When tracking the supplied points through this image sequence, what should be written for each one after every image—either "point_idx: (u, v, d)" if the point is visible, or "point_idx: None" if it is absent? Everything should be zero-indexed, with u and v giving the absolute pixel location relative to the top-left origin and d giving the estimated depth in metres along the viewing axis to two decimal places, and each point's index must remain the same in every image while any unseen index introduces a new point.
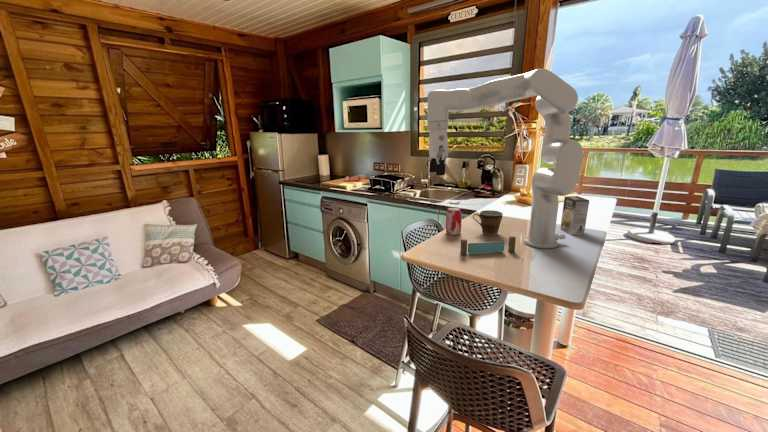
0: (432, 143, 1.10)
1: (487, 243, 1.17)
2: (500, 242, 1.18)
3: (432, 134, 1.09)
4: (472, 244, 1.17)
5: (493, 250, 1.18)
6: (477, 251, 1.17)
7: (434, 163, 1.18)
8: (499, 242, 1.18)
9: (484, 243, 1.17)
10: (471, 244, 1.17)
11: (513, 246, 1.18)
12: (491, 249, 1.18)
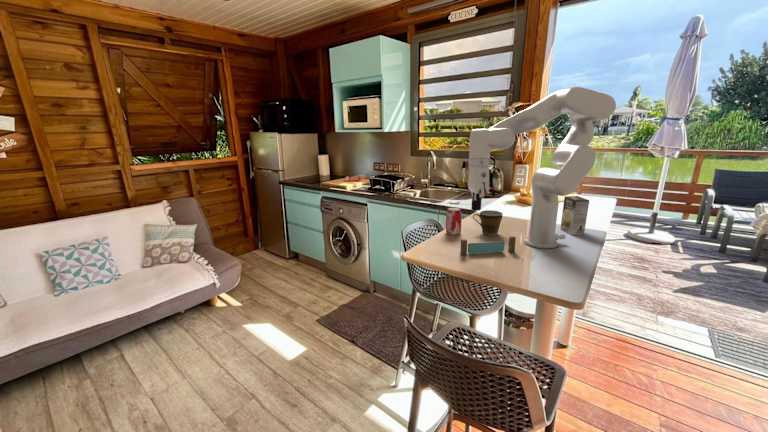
0: (474, 179, 1.14)
1: (487, 243, 1.17)
2: (500, 242, 1.18)
3: (474, 170, 1.13)
4: (472, 244, 1.17)
5: (493, 250, 1.18)
6: (477, 251, 1.17)
7: None
8: (499, 242, 1.18)
9: (484, 243, 1.17)
10: (471, 244, 1.17)
11: (513, 246, 1.18)
12: (491, 249, 1.18)
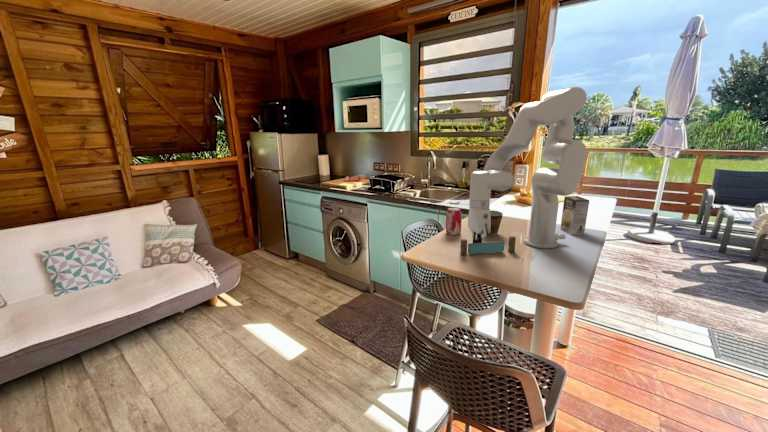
0: (475, 220, 1.16)
1: (487, 243, 1.17)
2: (500, 242, 1.18)
3: (475, 211, 1.15)
4: (472, 244, 1.17)
5: (493, 250, 1.18)
6: (477, 251, 1.17)
7: None
8: (499, 242, 1.18)
9: (484, 243, 1.17)
10: (471, 244, 1.17)
11: (513, 246, 1.18)
12: (491, 249, 1.18)
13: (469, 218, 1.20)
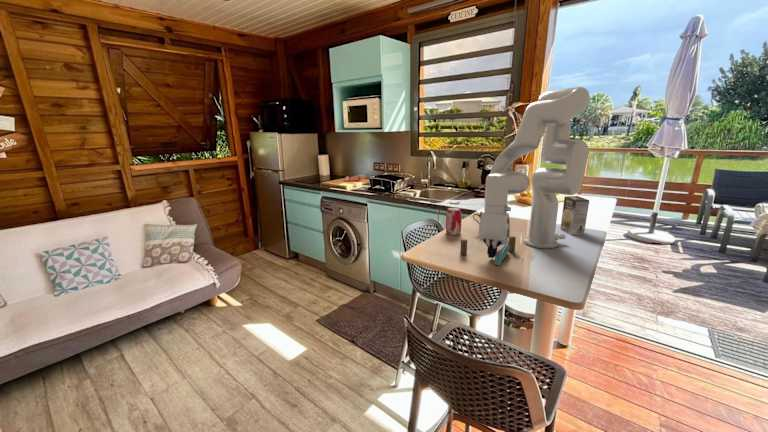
0: (497, 227, 1.06)
1: (503, 248, 1.12)
2: None
3: (497, 218, 1.05)
4: (499, 254, 1.07)
5: (505, 254, 1.14)
6: (501, 259, 1.09)
7: None
8: None
9: (502, 249, 1.11)
10: (499, 254, 1.07)
11: (513, 246, 1.18)
12: (505, 253, 1.13)
13: (483, 226, 1.09)
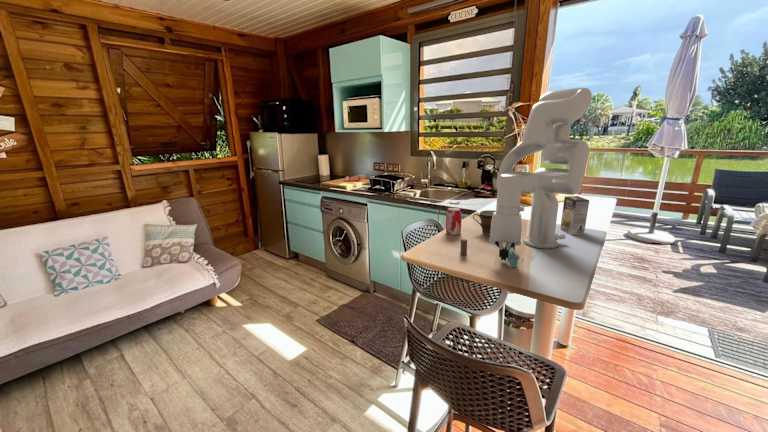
0: (513, 228, 1.04)
1: (512, 249, 1.11)
2: None
3: (513, 219, 1.03)
4: (516, 255, 1.05)
5: None
6: None
7: None
8: None
9: (513, 250, 1.10)
10: (516, 256, 1.05)
11: (513, 246, 1.18)
12: None
13: (497, 229, 1.05)
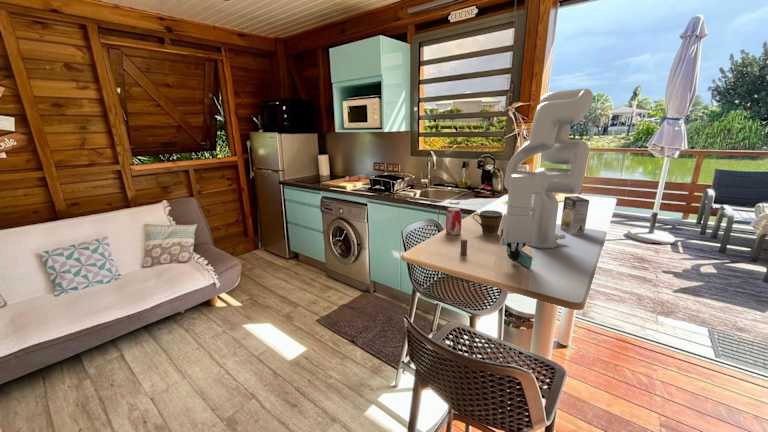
0: (526, 228, 1.03)
1: None
2: None
3: (526, 219, 1.02)
4: None
5: None
6: None
7: None
8: None
9: (521, 250, 1.10)
10: None
11: None
12: None
13: (511, 230, 1.03)
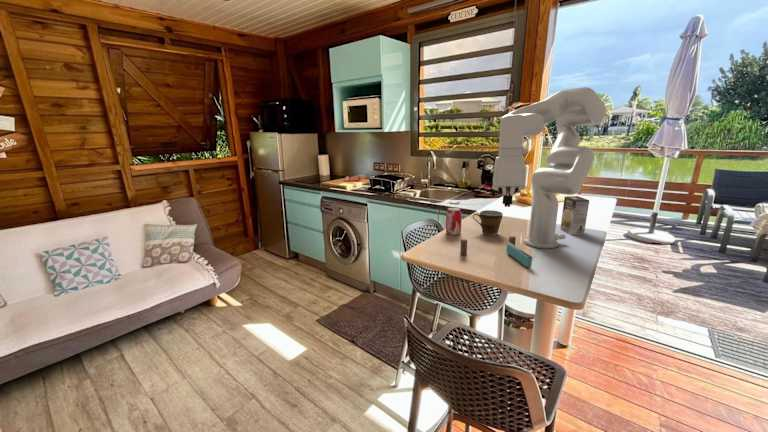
0: (516, 171, 1.01)
1: (519, 249, 1.11)
2: (512, 244, 1.16)
3: (516, 161, 1.00)
4: None
5: None
6: None
7: None
8: (512, 244, 1.15)
9: (521, 250, 1.10)
10: None
11: None
12: None
13: (500, 173, 1.02)
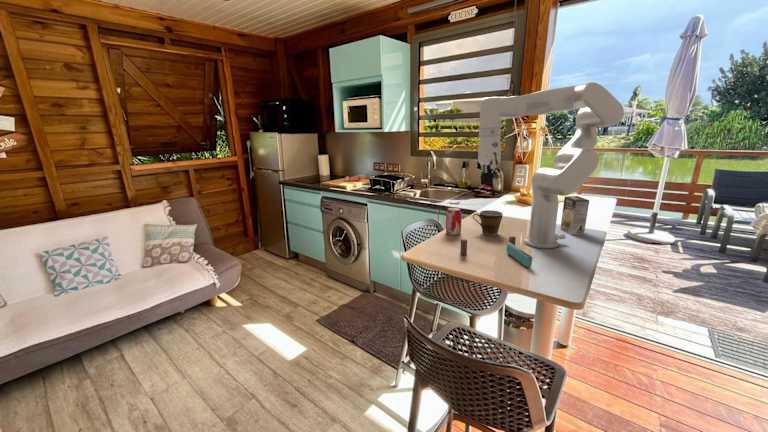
0: (484, 150, 1.10)
1: (519, 249, 1.11)
2: (512, 244, 1.16)
3: (485, 141, 1.10)
4: None
5: None
6: None
7: None
8: (512, 244, 1.15)
9: (521, 250, 1.10)
10: None
11: None
12: None
13: (479, 151, 1.15)
